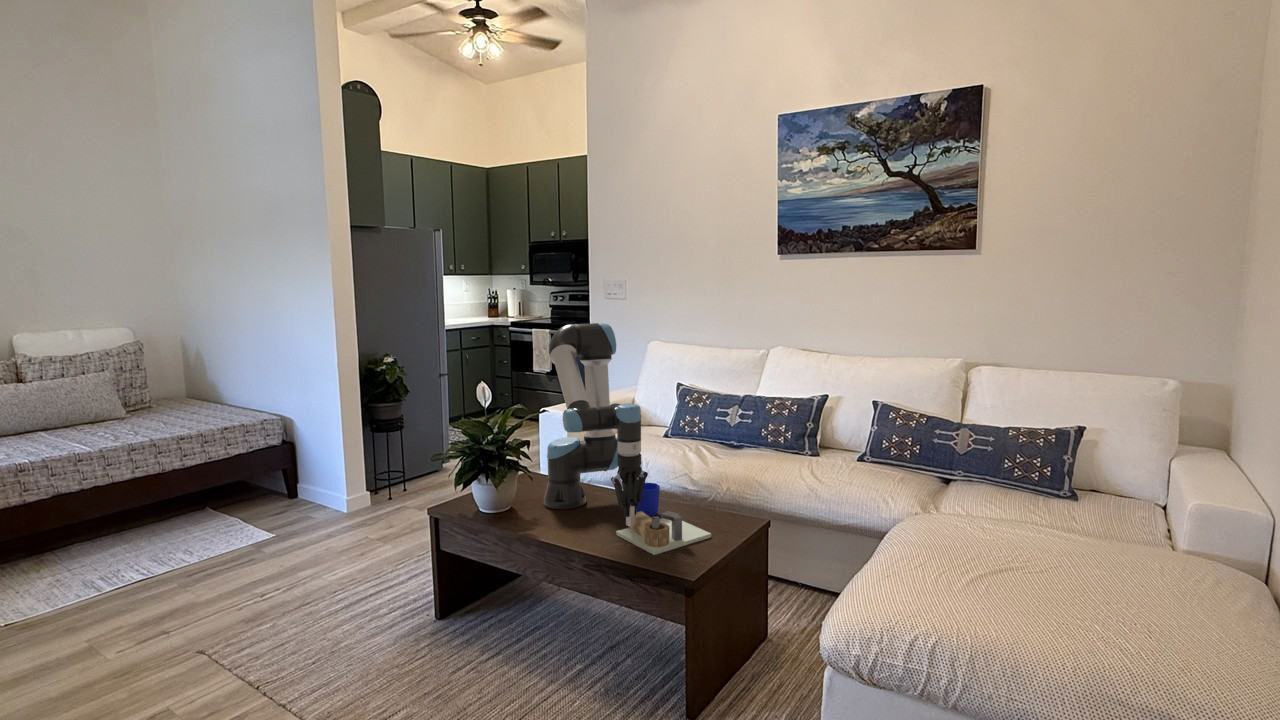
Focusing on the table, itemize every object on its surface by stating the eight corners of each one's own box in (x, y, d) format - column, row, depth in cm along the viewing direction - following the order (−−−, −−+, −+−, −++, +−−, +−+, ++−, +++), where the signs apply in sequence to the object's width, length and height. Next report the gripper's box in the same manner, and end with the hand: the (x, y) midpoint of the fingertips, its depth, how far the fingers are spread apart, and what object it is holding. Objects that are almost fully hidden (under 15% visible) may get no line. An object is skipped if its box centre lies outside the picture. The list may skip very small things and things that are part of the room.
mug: (626, 519, 234) (626, 491, 233) (643, 508, 245) (642, 481, 243) (648, 523, 230) (647, 494, 229) (663, 512, 241) (663, 484, 240)
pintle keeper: (644, 542, 214) (644, 514, 213) (670, 535, 220) (670, 507, 219) (659, 550, 208) (659, 521, 207) (685, 542, 214) (685, 514, 213)
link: (626, 529, 222) (625, 514, 222) (645, 525, 226) (645, 510, 225) (652, 548, 206) (652, 532, 206) (672, 544, 210) (672, 528, 209)
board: (616, 534, 221) (616, 531, 221) (671, 519, 234) (671, 515, 234) (654, 555, 205) (654, 551, 205) (711, 537, 218) (711, 533, 218)
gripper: (618, 459, 211) (619, 533, 214) (653, 452, 218) (653, 524, 221) (605, 454, 217) (606, 526, 220) (639, 447, 225) (640, 517, 228)
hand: (630, 525), depth 221 cm, fingers closed
